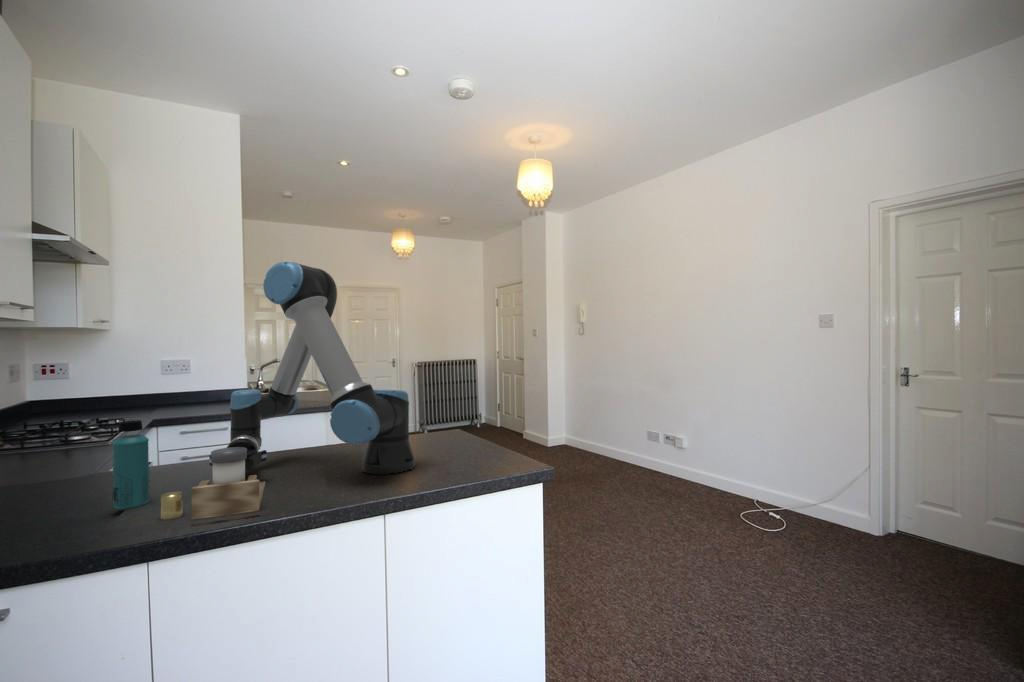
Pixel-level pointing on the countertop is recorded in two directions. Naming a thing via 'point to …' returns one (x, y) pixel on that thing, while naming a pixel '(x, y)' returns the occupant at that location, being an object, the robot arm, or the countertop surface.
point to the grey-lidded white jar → (228, 464)
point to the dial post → (171, 505)
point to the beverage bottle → (130, 467)
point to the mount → (226, 499)
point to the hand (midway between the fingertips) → (230, 473)
